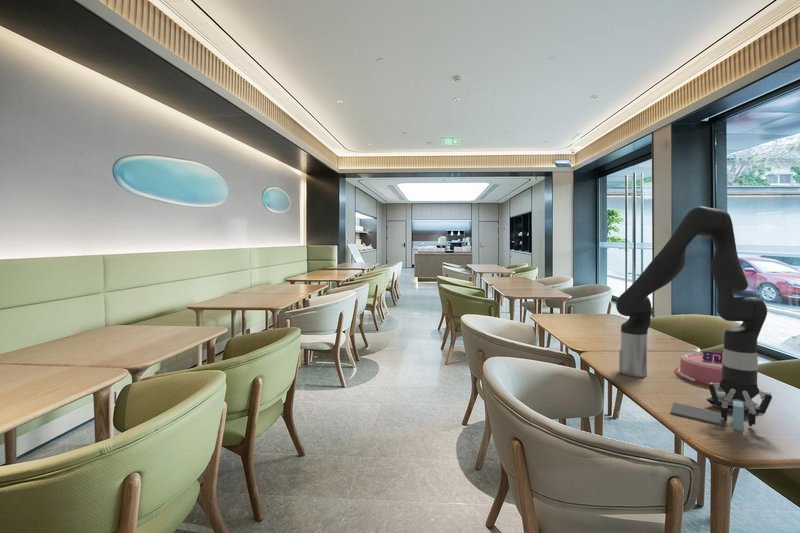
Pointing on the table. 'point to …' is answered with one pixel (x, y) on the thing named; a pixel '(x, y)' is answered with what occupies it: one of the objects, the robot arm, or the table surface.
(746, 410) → the packaged food
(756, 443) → the table surface
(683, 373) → the cake
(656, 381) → the table surface
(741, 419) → the block
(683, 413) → the mat
